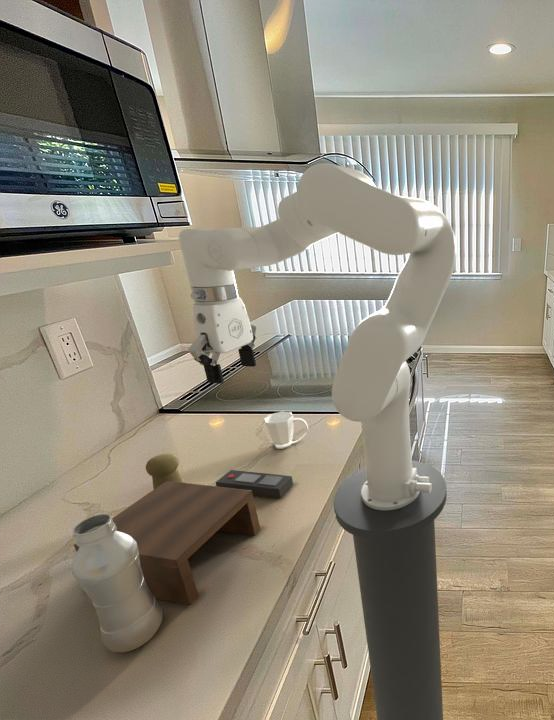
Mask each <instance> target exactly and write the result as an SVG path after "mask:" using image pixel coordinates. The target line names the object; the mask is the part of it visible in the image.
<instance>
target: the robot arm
mask: <svg viewBox="0 0 554 720" xmlns="http://www.w3.org/2000/svg"><path fill="white" fill-rule="evenodd" d="M277 214H278V218H277V219H275V220H273V221H271V222H269V223H267V224H264V225H262V226H246V227H241V226H240V227H222V228H221V227H220V228H186V229H182V230H181V231H179V234H178V240H179V245H180V248H181V253H182V257H183V261H184V266H185V269H186V273H187V277H188V282H189V286H190V291H191V293H190V297H191V299H192V300H193V308H192V309H193V321H194V330H195V334H196V339H195V340H194V341H193V342H192V344H191V345H190V346H189V347H188V348H187V351H188V353H189V354H190V355H191V356H192V357H193V359H194V361H196V362H197V363H199V365H201V366H203V368H204V372H205V377H206V380H207V381H206V382H207V383H208V384H224V382H225V380H224V375H223V371H222V367H221V364H220V363H218V362H219V359H220V355H221V354H228V353H230V352H233V351H235V350H237V349H238V355H239V360H240V364H241V366H242V367H252V368H254V367H256V366H257V362H256V356H255V352H254V349H255V341H256V332H257V326H256V325H254V324H251V320H250V317H249V314H248V312H247V309H246V305H245V303H244V301H243V299H242V297H240V296H239V292H238V289H237V288H238V287H237V283H236V278H235V273H234V272H235V271H242V270H243V271H244V270H248V269H254V268H261V267H268V266H272V265H275V264H278V263H281V262H283V261H286V260H288V259H291V258H293V257H295V256H297V255H299V254H302V253H303V252H305V251H306V250H308V249H309V248H310V247H312V245H314V244H316V243H318V242H321V241H323V240H325V239H327V238H330V237H332V236H334V235H337V234H340V235H342V236H345V237H346V238H349V239H350V240H353V241H355V242H356V243H359V244H362V245H364V246H365V247H367V248H369V249H372V250H374V251H377V252H379V253H382V254H385V255H388V256H389V255H390V256H402V255H407V259H406V261H405V263H404V264H403V267H401V270H400V271H399V273H398V275H397V277H396V278H395V281H394V285H393V288H392V290H391V292H390V294H389V297H388V299H387V301H386V303H385V305H384V306H383V307H381V309H379V310H378V311H376V312H374V313H372V314H370V315H368V316H366V317H365V318H364V319H362V320H361V321H360V322H358V324H357V326H356V327H355V328H354V330H353V331H352V333H351V334H350V337H349V339H348V342H347V344H346V347H345V349H344V352H343V354H342V357H341V360H340V363H339V365H338V367H337V370H336V373H335V376H334V379H333V382H332V386H331V399H332V403H333V406H334V407H335V409H336V411H337V413H338V414H340V416H342V417H343V418H344V419H346V420H349V421H351V422H357V423H360V425H361V426H360V427H361V436H362V445H363V446H362V447H363V455H364V456H363V457H364V464H365V467H366V474H367V481H366V482H365V483H364V485H363V486H362V489H361V497H362V500H363V502H364V503H365V504H366V505H367V506H368V507H370V508H373V509H376V510H384V511H387V510H395V509H399V508H402V507H404V506H406V505H408V504H410V503H411V502H413V501H414V500H415V499H416V498H417V496H418V495H419V493H420V492H425V493H431V490H432V484H431V483H429V477H420V476H419V475H417V468H412V460H413V459H412V458H413V457H412V456H413V455H412V443H411V427H410V426H411V424H410V423H411V421H410V394H411V383H412V381H411V371H410V367H409V364H408V362H407V360H408V359H410V358H411V357H412V356H413V355H414V354H415V353H416V352H417V351H418V350H419V349H420V348H421V346H422V345H423V343H424V341H425V338H426V336H427V334H428V331H429V330H430V326H431V324H432V323H433V321H434V318H435V316H436V313H437V310H438V309H439V306H440V304H441V302H442V299H443V297H444V295H445V293H446V290H447V288H448V286H449V283H450V282H451V279H452V277H453V276H452V275H453V273H454V270H455V266H456V263H457V254H458V253H457V251H458V250H457V249H458V246H457V239H456V235H455V232H454V229H453V227H452V225H451V223H450V221H449V219H448V218H447V216H446V215H445V214H444V212H443V211H442V210H441V209H440V208H439V207H437V206H436V205H435V204H433V203H432V202H430V201H428V200H425V199H422V198H418V197H411V196H402V195H397V194H394V193H392V192H389V191H387V190H385V189H382V188H381V187H377V186H376V184H375V183H374V181H373V180H372V178H370V177H369V176H368V175H367V174H365V173H364V172H362V171H360V170H358V169H355V168H352V167H347V166H342V165H340V164H339V165H338V164H334V163H327V162H323V163H322V162H321V163H316V164H314V165H311V166H310V167H308V168H307V169H306V170H305V171H304V172H303V173H302V174H301V176H300V178H299V180H298V184H297V190H296V192H293V193H291V194H289V195H287V196H285V197H283V198H282V199H281V200H280V201H279V202H278V207H277ZM210 355H211V356H210Z"/></svg>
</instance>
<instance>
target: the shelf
mask: <svg viewBox="0 0 554 720" xmlns="http://www.w3.org/2000/svg"><path fill="white" fill-rule="evenodd" d="M257 512H258V511H257V507H256V504H255V499H254V495H253V494H252V491H251V490H243V489H234V488H225V487H217V485H207V484H200V483H199V484H198V483H190V482H185V483H182V482H173V481H166V482H164V483H163V484H161V485H160V486H158V487H157V488H156V489H154V488H153V490H151V491H150V492H148V493H147V494H145V495H144V496H142V497H141V498H139V499H138V500H137V501H135V502H134V503H133V504H131V505H128V507H127V508H124V510H122V511H120V512H119V513H118V514H116V515H115V516H113V517H112V520H113V522H114V523H115V524H116V531H119V532H122V533H125V534H127V535H129V536H131V537H132V538H133V539H134V540H135V541H136V542H137V546H138V552H139V559H140V566H141V569H142V573H143V576H144V580H145V582H146V584H147V586H148V588H149V590H150V591H151V593H152V595H153V596H154V597H155V598H156V599H157V600H159V601H166V602H171V603H177V604H178V603H179V604H183V605H190V606H191V605H192V604H193V603H194V602H195V601H196V600H197V599H198V598H199V597H200V594H199V591H198V588H197V585H196V581H195V578H194V575H193V573H192V572H193V571H192V569H191V566H190V563H189V560H188V559H189V558H190V557H191V556H193V555H194V554H195V552H197V551H198V550H199V549H200V548H201V547H202V546H203V545H204V544H205V543H206V542H207V541H209V540H210V539H211V537H213V536H214V535H215V534H216V533H217V532H219V531H220V532H228V533H236V534H242V535H251V536H256V535H257V534H258V533H259V532H260V531H261V525H260V521H259V516H258V513H257ZM73 547H74V550H75V551H76V552H77V551H78V549H79V546H77V545H76V543H74V544H73ZM76 552H75V553H76Z"/></svg>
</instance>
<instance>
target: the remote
mask: <svg viewBox="0 0 554 720" xmlns="http://www.w3.org/2000/svg"><path fill="white" fill-rule="evenodd" d="M215 484H216V485H215V486H217V487H225V488H234V489H243V490H251V491H252V494H253V496H255V497H256V496H258V497H266V498H275V499H282V498H283V497H284V496H285V494H286V493H288V491H289V490H290V489H291V488H292V487H293V486H294V480H293V476H292V475H286V474H285V475H284V474H278V473H277V474H274V473H265V472H257V471H247V470H238V469H230V470H229V471H228V472H227V473H225V474H224V475H223V476H221V477H220V478H219V479H217V481H215Z"/></svg>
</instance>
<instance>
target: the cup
mask: <svg viewBox="0 0 554 720" xmlns="http://www.w3.org/2000/svg"><path fill="white" fill-rule="evenodd" d="M263 421H264V424H265V425H266V428H267V431H268V434H269V436H270V438H271V440H272V442H273V444H274V447H275V449H280V450H283V449H286V448H289V447H291V446H292V445H295V444H298V443H299V442H300V441H302V440H303V439H304V438H305V437H306V436H307V434H308V433H309V425H308V423H307V421H306V420H304V419H303V418H301V417H294V414H293V413H292V411H283V410H281V411H278V412H274V413H270V414H268V415H266V417H265V418H263ZM298 421H300V422H302V423H303V424H304V426H305V428H306V432H304V434H303V435H302V436H301V437H300V438H298V439H296V440H294V441H293V438H294V423H295V422H298Z"/></svg>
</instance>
